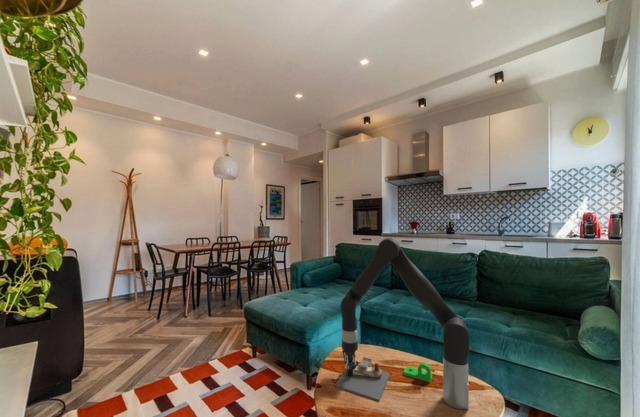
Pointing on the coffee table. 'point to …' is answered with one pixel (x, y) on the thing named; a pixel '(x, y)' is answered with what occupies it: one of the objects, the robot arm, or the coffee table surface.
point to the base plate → (364, 385)
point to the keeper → (365, 363)
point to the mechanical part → (419, 372)
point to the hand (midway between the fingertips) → (349, 375)
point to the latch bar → (367, 371)
